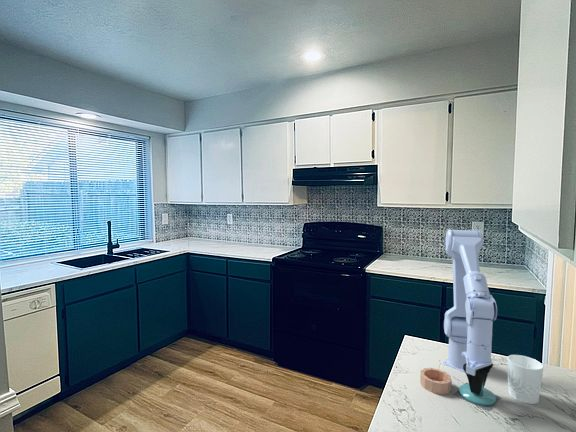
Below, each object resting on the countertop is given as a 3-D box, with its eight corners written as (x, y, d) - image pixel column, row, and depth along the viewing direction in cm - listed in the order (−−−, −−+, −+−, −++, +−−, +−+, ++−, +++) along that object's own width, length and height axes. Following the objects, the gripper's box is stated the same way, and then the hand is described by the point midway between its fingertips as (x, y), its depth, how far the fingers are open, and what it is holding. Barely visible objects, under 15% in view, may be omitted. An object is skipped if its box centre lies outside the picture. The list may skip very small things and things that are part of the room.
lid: (466, 383, 94) (467, 367, 94) (500, 397, 87) (501, 380, 87) (453, 394, 89) (454, 377, 88) (488, 410, 82) (489, 392, 82)
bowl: (428, 375, 98) (429, 365, 98) (455, 387, 92) (456, 376, 92) (415, 385, 93) (415, 374, 93) (442, 399, 87) (443, 386, 87)
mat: (466, 383, 94) (466, 382, 94) (501, 398, 87) (501, 397, 87) (452, 395, 89) (452, 394, 89) (489, 412, 82) (489, 411, 82)
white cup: (548, 408, 84) (550, 371, 83) (514, 404, 85) (515, 367, 85) (531, 390, 91) (533, 356, 91) (500, 387, 93) (502, 353, 92)
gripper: (470, 329, 95) (469, 374, 96) (454, 345, 85) (452, 395, 86) (498, 336, 90) (496, 383, 91) (484, 354, 80) (482, 407, 81)
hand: (477, 390), depth 88 cm, fingers closed on lid, 3 cm apart
